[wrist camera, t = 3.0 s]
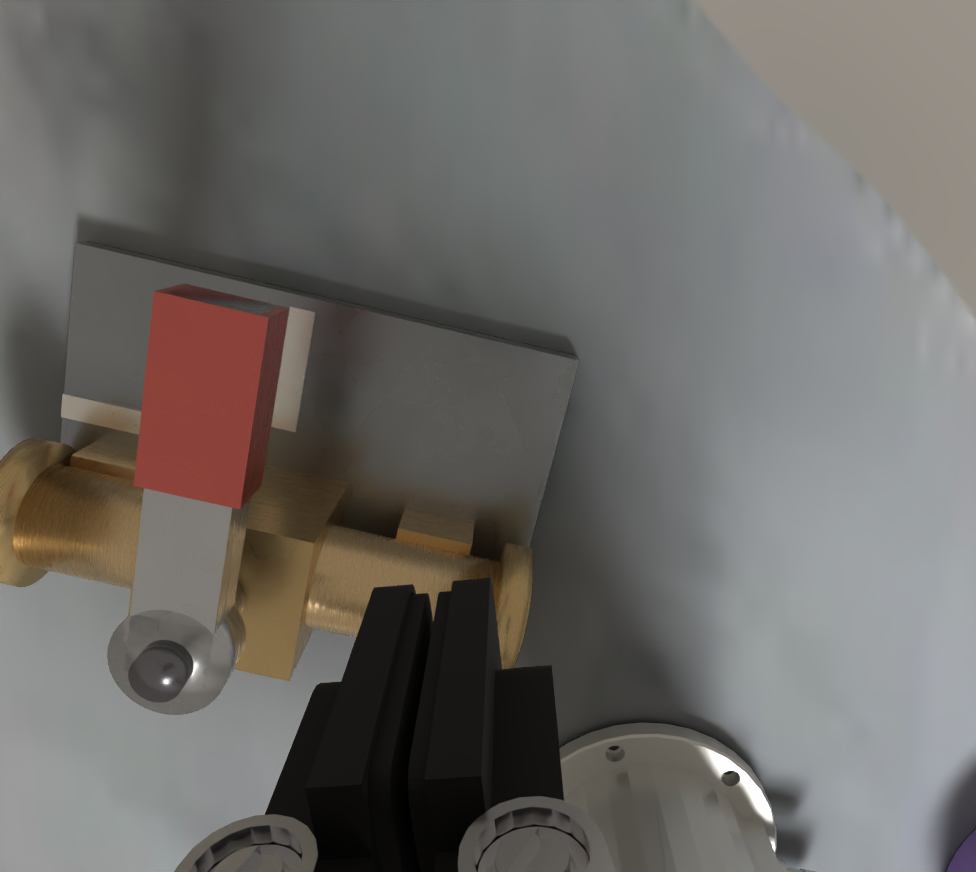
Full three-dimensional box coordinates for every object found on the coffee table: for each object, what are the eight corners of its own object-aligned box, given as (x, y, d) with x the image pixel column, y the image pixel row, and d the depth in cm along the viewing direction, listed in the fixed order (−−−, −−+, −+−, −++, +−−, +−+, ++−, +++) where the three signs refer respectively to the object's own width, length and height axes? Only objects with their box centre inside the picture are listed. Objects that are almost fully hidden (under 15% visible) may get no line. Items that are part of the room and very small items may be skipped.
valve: (577, 356, 32) (604, 416, 23) (498, 649, 36) (495, 800, 27) (88, 241, 31) (-85, 257, 22) (63, 555, 35) (-92, 677, 26)
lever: (299, 309, 22) (272, 324, 20) (239, 688, 26) (209, 742, 23) (174, 280, 22) (129, 291, 19) (131, 665, 26) (89, 717, 23)
